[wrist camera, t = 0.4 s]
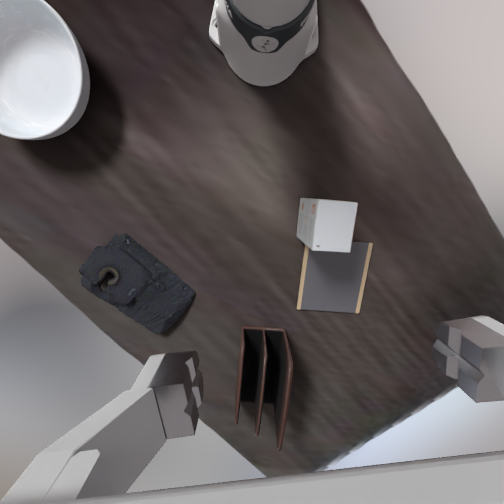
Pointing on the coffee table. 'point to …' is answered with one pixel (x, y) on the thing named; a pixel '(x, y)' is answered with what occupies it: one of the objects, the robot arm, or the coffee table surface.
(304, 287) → the mat
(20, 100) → the serving bowl
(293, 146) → the coffee table surface
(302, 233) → the small box
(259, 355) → the letter holder
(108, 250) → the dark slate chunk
